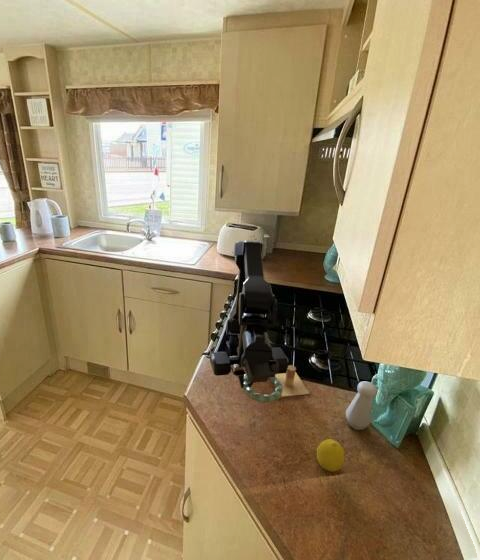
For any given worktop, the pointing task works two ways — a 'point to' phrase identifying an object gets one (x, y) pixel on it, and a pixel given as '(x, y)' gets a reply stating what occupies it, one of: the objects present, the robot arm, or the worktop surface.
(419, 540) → the worktop surface
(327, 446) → the lemon
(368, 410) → the salt shaker
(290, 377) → the stand
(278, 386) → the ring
